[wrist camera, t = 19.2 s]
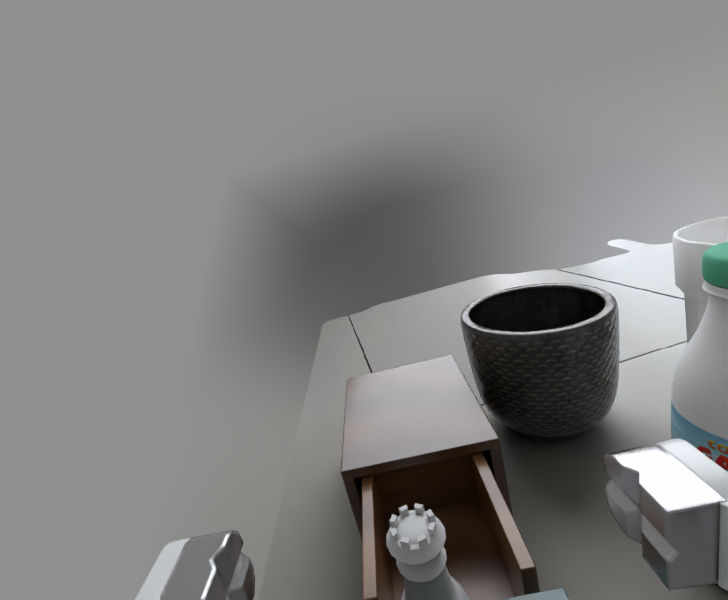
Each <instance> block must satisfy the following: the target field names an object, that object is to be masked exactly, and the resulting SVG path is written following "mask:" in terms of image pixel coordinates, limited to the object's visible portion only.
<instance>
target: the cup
mask: <svg viewBox="0 0 728 600" xmlns="http://www.w3.org/2000/svg"><path fill="white" fill-rule="evenodd" d="M672 239H673V254H674V268H675V283H676V286H677V287H678V288H679V289H680V290H681V291H683V292H684V295H685V311H686V327H687V344H688V343H689V341H690V340H691V338H692V337H693V335H694V334H695V332H696V330H697V329H698V327H699V325H700V323H701V320H702V318H703V316H704V313H705V310H706V307H707V303H708V293H706V292H705V291H704V290H703V288H702V285H703V283H704V278H703V276H702V256H703V254H704V251H705V250H707V249H708V248H710V247H712V246H714V245H717V244H720V243H724V242H728V216H726V217H720V218H714V219H709V220H705V221H701V222H698V223H694V224H690V225H687V226H685V227H683V228H681V229H679V230H677V231H675V232H674V235H673V238H672Z"/></svg>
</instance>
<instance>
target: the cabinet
mask: <svg viewBox="0 0 728 600" xmlns="http://www.w3.org/2000/svg"><path fill="white" fill-rule="evenodd" d="M481 451H482V453H483V455H484V457H485V460H486V462H487V464H488V466H489V468H490V470H491V472H492V474H493V477H494V479H495V481H496V483H497V485H498V487H499V489H500V491H501V494H502V496H503V498H504V500H505V502H506V504H507V506H508V508H509V511H510V513H511V515H512V510H511V504H510V498H509V492H508V487H507V481H506V475H505V469H504V463H503V458H502V452H501V447H500V441H499V437H498V436H497V434H496V432H495V430H494V429H493V427H492V425H491V423H490V421H489V420H488V418H487V416H486V414H485V413H484V411H483V409H482V407H481V406H480V404H479V402H478V400H477V399H476V397H475V395H474V393H473V391H472V390H471V388H470V386H469V384H468V383H467V381H466V379H465V377H464V376H463V374H462V372H461V370H460V368H459V367H458V365H457V363H456V361H455V360H454V358H453V356H452V355H449V356H445V357H440V358H436V359H432V360H427V361H423V362H418V363H414V364H410V365H405V366H401V367H396V368H392V369H388V370H383V371H379V372H374V373H370V374H366V375H361V376H357V377H352V378H348V379H347V389H346V403H345V418H344V432H343V447H342V461H341V475H342V478H343V480H344V484H345V488H346V491H347V494H348V497H349V500H350V504H351V507H352V510H353V513H354V517H355V520H356V523H357V526H358V530H359V533H360V536H361V539H362V477H363V476H368V475H372V474H377V473H382V472H386V471H391V470H396V469H401V468H405V467H410V466H415V465H419V464H424V463H429V462H434V461H438V460H443V459H448V458H452V457H457V456H462V455H467V454H471V453H476V452H481ZM512 517H513V516H512Z"/></svg>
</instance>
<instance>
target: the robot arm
mask: <svg viewBox="0 0 728 600" xmlns="http://www.w3.org/2000/svg"><path fill="white" fill-rule="evenodd" d="M604 470H605V472H606V473H607V474H608V475H609V476H610V477H611V479H610V481H609V482H608V484H607V486H606V487H605V488H606V496H607V502H608V504H609V507H610V510H611V512H612V515H613V516H614V518H615V520H616V522H617V523H618V525H619V526H620V528H621V529H622V530H623V532H624V533H625V534H626V536H627V537H629V538H631V539H633V540H635V541H637V542H638V543H640V544H642V550H643V557H644V559H645V560H646V561H647V563H648V564H649V565H650V566H651V568H652V569H653V570H654V571H655V573H656V574H657V575H658V577H659V578H660V579H661V580H662V582H663V583H664V584H665V585H666V587H667V588H668V589H669V590H674V589H680V588H687V587H694V586H700V585H707V584H713V583H718V586H720V587H721V588H723V589H725V590H726V591H728V472H727V471H726V470H724V469H723V468H722V467H720V466H719V465H718V464H716V463H715V462H714V461H712V460H711V459H710V458H708V457H707V456H706V455H704V454H703V453H702V452H700V451H699V450H698V449H696V448H695V447H694V446H692V445H691V444H690V443H688V442H687V441H685V440H682V439H680V438H677V439H672V440H668V441H663V442H659V443H654V444H653V445H646V446H641V447H637V448H632V449H627V450H623V451H618V452H613V453H609V454H605V457H604ZM242 545H243V541H242V539H241V536H240V534H239V532H238V531H234V530H232V531H226V532H220V533H215V534H209V535H203V536H197V537H192V538H190V539H184V540H178V541H171V542H170V543H168V544H167V545H166V546H165V547H164V548H163V549H162V551H161V553H160V555H159V557H158V559H157V560H156V562H155V564H154V566H153V568H152V569H151V571H150V573H149V575H148V577H147V578H146V580H145V582H144V584H143V586H142V587H141V589H140V591H139V593H138V594H137V596H136V599H135V600H253V598H254V589H255V576H254V569H253V565H252V563H251V560H250V558H249V557H247V556H246V555H244V554H243V553H241V549H242Z"/></svg>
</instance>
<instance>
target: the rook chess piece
mask: <svg viewBox="0 0 728 600" xmlns="http://www.w3.org/2000/svg"><path fill="white" fill-rule="evenodd" d="M414 508H415V510H410V511H408V508H407V505H404V506H402V507H400V508H399V512H400V515H399V516H398V517H397V516H396V515H393V514H392V517H391V519H390V521H389V522H390V528H389V531H388V533H387V547H388V549H389V552H390V554H391V555H392V556H393V557H394V558H396V565H397V567H398V569H399V571H400V573H401V574H402V575H403V576H404V583H405V589H404V592H403V594H402V598H401V600H470V599H469V597H468V596H467V594H466V592H465V591H464V589H463V588H462V586H461V585H460V583H458V582H457V581H456V580H455V579H454V578H453V577H451V576H450V574H449V572H448V570H447V568H446V565H445V564H446V560H447V556H446V550H445V548H444V547H443V546H444V543H445V539H446V534H445V528H444V526H443V524H442V523H441V521H440V520H439V519H438V518H437V517H435V516H434V514H433V512H432V511H431V509H429V510H428V511H425V510H424V506H423V505H422V504H417V503H415V506H414Z"/></svg>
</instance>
